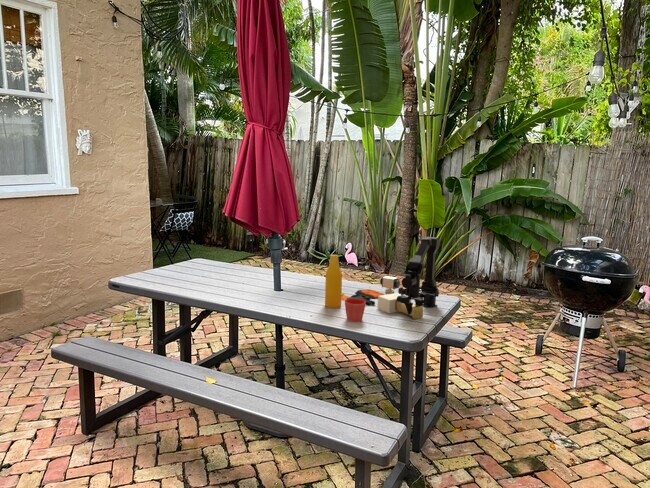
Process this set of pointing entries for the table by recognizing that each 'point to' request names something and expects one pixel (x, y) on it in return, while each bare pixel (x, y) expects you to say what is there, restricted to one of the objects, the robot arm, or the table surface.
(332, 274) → the beer bottle
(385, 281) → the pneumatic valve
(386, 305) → the block
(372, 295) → the pair of gloves
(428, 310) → the table surface
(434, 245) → the robot arm
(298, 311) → the table surface
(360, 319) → the flower pot
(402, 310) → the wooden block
